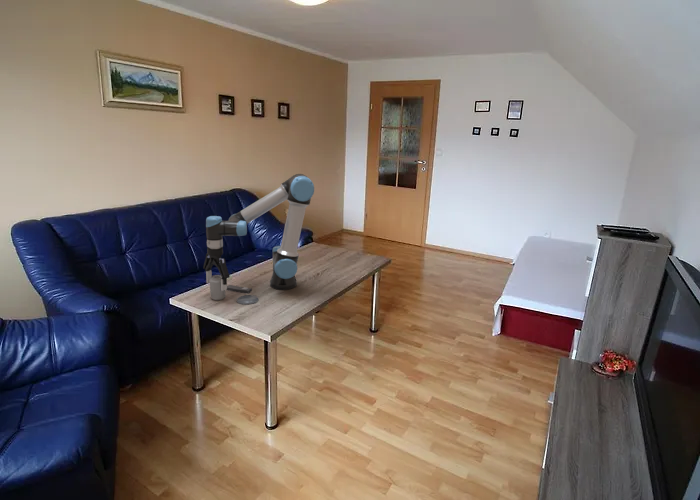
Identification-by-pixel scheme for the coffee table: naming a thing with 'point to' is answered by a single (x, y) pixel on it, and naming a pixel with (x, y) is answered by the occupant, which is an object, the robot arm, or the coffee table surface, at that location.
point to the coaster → (247, 299)
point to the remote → (239, 289)
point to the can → (216, 288)
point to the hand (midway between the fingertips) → (216, 286)
